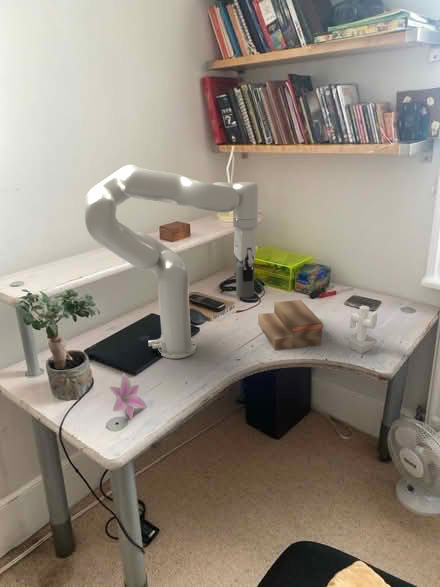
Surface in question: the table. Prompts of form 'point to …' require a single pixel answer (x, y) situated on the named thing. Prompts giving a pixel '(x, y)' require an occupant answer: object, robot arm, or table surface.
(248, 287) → the bottle
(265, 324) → the step stand
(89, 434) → the table surface
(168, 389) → the table surface
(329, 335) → the table surface
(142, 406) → the lily
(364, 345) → the figurine
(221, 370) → the table surface
